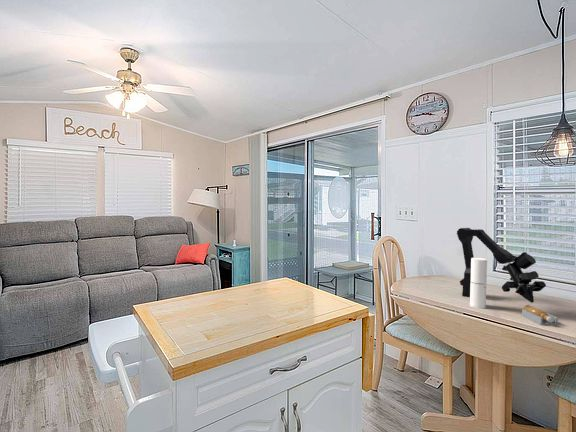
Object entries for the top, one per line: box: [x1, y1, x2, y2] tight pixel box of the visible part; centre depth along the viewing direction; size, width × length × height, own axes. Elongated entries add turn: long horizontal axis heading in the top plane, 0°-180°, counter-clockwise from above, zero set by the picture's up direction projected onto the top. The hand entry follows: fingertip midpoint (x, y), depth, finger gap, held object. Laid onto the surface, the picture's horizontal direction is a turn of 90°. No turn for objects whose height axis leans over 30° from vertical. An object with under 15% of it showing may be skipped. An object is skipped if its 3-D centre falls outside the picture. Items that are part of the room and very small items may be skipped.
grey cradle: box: [521, 308, 559, 326], centre depth 150 cm, size 11×8×3 cm
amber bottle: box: [522, 304, 554, 323], centre depth 150 cm, size 4×4×14 cm
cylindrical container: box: [469, 257, 488, 309], centre depth 169 cm, size 7×7×25 cm
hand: (532, 302), depth 154 cm, fingers closed
